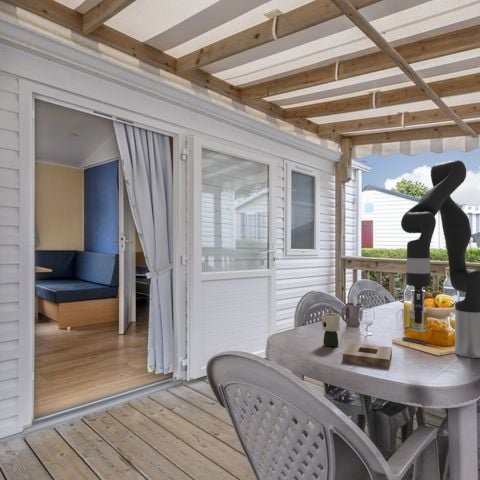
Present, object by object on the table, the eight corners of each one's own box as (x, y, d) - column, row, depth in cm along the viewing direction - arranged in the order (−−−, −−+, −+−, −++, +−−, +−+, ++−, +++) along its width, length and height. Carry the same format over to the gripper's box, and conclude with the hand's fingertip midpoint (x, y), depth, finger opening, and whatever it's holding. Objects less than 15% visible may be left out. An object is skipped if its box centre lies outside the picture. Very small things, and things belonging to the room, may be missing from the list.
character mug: (320, 341, 166) (320, 312, 166) (337, 342, 165) (337, 312, 165) (323, 349, 155) (323, 317, 155) (341, 349, 155) (341, 317, 154)
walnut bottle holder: (391, 355, 148) (391, 347, 148) (389, 368, 133) (389, 359, 133) (349, 350, 154) (349, 342, 154) (342, 361, 140) (342, 353, 140)
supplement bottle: (421, 327, 132) (421, 299, 132) (430, 331, 127) (430, 302, 127) (406, 328, 132) (406, 300, 132) (414, 332, 126) (414, 302, 126)
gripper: (431, 273, 121) (431, 327, 121) (429, 269, 134) (429, 318, 134) (405, 272, 124) (405, 324, 124) (406, 269, 137) (406, 316, 137)
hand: (418, 321), depth 129 cm, fingers closed on supplement bottle, 5 cm apart
